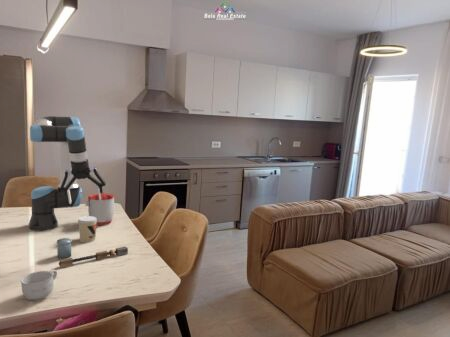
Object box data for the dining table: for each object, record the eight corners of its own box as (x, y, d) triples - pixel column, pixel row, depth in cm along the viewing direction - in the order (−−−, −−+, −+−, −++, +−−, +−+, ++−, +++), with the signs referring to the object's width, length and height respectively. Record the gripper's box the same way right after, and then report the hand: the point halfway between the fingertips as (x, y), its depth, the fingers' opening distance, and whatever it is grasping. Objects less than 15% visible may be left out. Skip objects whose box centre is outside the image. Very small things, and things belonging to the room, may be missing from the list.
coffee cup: (90, 243, 184) (90, 222, 182) (74, 241, 185) (74, 219, 183) (100, 237, 193) (100, 217, 191) (85, 235, 194) (84, 215, 192)
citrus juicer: (83, 220, 219) (83, 189, 216) (112, 217, 227) (112, 188, 224) (86, 228, 206) (86, 195, 203) (116, 225, 214) (116, 193, 210)
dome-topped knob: (55, 255, 167) (55, 239, 166) (69, 252, 171) (69, 237, 170) (58, 260, 162) (58, 244, 161) (73, 257, 166) (73, 241, 165)
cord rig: (58, 266, 156) (58, 259, 156) (125, 251, 176) (125, 246, 176) (60, 268, 154) (59, 262, 154) (127, 253, 174) (127, 248, 173)
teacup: (31, 307, 124) (31, 286, 123) (15, 297, 130) (14, 277, 129) (67, 291, 136) (66, 272, 135) (50, 283, 142) (50, 264, 140)
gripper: (48, 165, 154) (56, 207, 162) (107, 159, 161) (112, 200, 169) (50, 159, 161) (58, 200, 169) (107, 154, 168) (112, 194, 176)
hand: (85, 200), depth 169 cm, fingers open, 13 cm apart
